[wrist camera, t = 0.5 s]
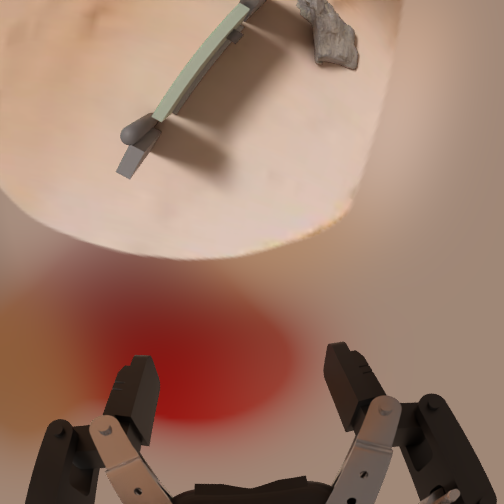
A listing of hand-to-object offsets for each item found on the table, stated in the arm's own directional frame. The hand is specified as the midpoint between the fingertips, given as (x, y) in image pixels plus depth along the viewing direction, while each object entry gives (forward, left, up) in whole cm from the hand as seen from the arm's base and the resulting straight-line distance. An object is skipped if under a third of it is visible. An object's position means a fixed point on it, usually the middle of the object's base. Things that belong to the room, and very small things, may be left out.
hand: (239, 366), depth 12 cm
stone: (0, +23, -28) cm, 37 cm away
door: (-8, +10, -27) cm, 30 cm away
